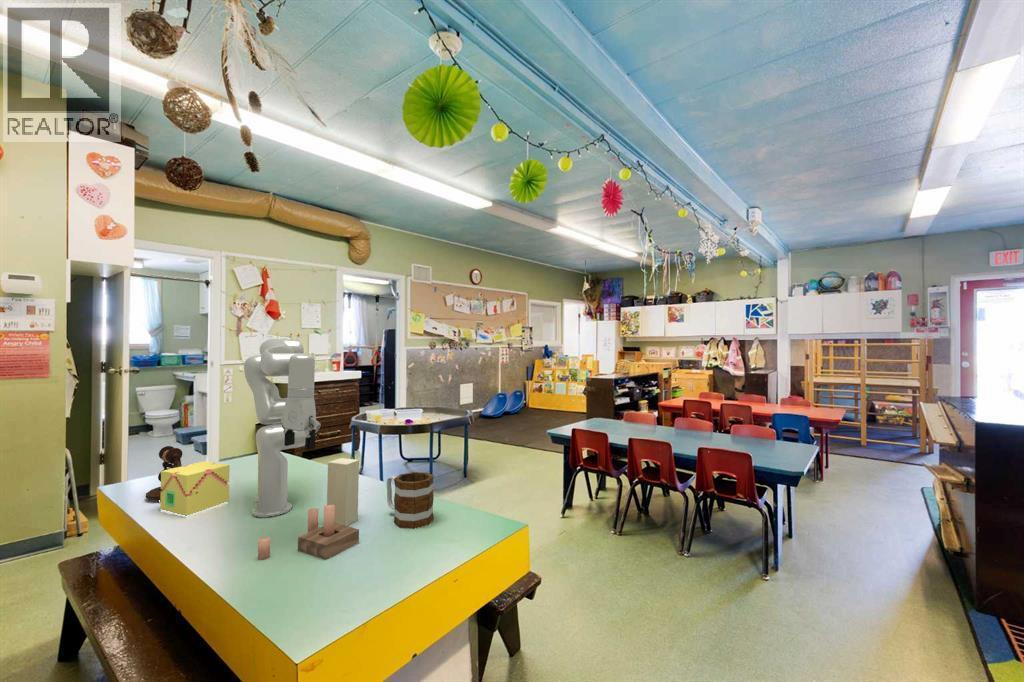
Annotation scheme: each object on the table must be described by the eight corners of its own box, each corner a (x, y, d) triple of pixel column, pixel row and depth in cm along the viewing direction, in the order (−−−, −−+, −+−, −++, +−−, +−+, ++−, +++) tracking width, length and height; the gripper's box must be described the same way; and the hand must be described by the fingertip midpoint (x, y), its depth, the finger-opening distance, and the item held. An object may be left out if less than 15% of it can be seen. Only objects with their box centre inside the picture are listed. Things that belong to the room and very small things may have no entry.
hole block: (297, 550, 124) (297, 536, 124) (331, 534, 135) (331, 522, 135) (325, 559, 119) (326, 545, 119) (358, 542, 129) (359, 529, 130)
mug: (441, 518, 149) (441, 475, 149) (414, 532, 137) (414, 485, 137) (401, 507, 159) (401, 467, 159) (372, 519, 147) (373, 476, 147)
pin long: (321, 547, 126) (321, 507, 126) (329, 543, 129) (330, 503, 129) (328, 549, 125) (328, 508, 125) (336, 545, 127) (337, 505, 128)
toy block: (160, 512, 154) (161, 471, 154) (203, 499, 168) (204, 461, 168) (186, 518, 148) (187, 475, 149) (228, 504, 162) (229, 464, 163)
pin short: (255, 558, 120) (255, 540, 120) (265, 553, 122) (266, 536, 122) (262, 560, 118) (262, 542, 118) (272, 556, 121) (272, 538, 121)
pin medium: (305, 536, 134) (306, 510, 134) (313, 532, 136) (314, 507, 137) (312, 538, 132) (312, 512, 133) (320, 534, 135) (320, 509, 135)
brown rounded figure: (199, 494, 172) (199, 445, 173) (153, 506, 160) (155, 453, 161) (183, 488, 180) (184, 441, 181) (139, 498, 168) (140, 448, 168)
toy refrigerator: (360, 519, 147) (360, 459, 148) (345, 527, 140) (345, 464, 141) (341, 516, 150) (342, 457, 150) (326, 524, 143) (326, 462, 144)
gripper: (272, 392, 135) (270, 446, 135) (309, 397, 127) (307, 453, 127) (293, 390, 141) (292, 441, 141) (329, 394, 134) (328, 448, 134)
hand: (299, 447), depth 134 cm, fingers open, 9 cm apart
